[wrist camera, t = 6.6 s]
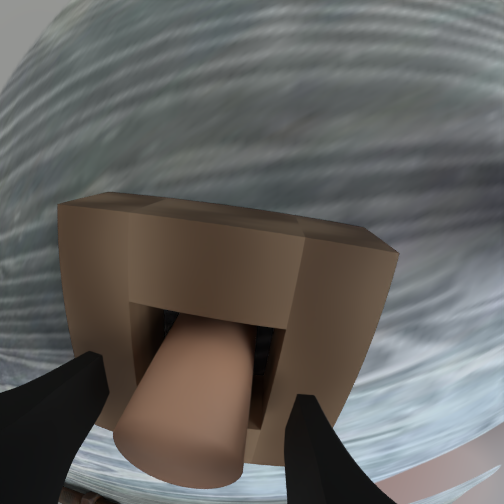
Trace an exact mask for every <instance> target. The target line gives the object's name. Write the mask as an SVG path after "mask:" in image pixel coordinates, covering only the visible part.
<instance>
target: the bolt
mask: <svg viewBox="0 0 504 504" xmlns="http://www.w3.org/2000/svg"><path fill="white" fill-rule="evenodd" d="M58 502H60V503H62V504H116V503H113V502H109V501H106V500H105V499H104V498H103V497H102V496H101V495H99V494H97V493H94V492H88V493H86V494H84V493H80V492H77V491H75V490H72V489H69V488H67V487H64V486H63V487H62V490H61V493H60V497H59V500H58Z"/></svg>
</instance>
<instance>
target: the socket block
mask: <svg viewBox="0 0 504 504" xmlns="http://www.w3.org/2000/svg"><path fill="white" fill-rule="evenodd" d="M58 244H59V259H60V270H61V280H62V289H63V296H64V303H65V310H66V316H67V322H68V327H69V332H70V337H71V342H72V347H73V351H74V356H75V358H76V357H78V356H80V355H82V354H84V353H85V352H88V351H92V352H95V353H98V354H101V355H102V356H103V362H104V367H105V372H106V377H107V382H108V386H109V391H110V393H109V396H108V398H107V401H106V403H105V405H104V407H103V410H102V412H101V414H100V415H99V417H98V419H97V420H96V422H95V425H97V426H100V427H102V428H105V429H107V430H110V431H113V432H114V429H115V427H116V425H117V423H118V421H119V419H120V418H121V416H122V414H123V412H124V410H125V408H126V407H127V405H128V403H129V401H130V399H131V397H132V396H133V394H134V392H135V390H136V388H137V387H138V385H139V383H140V381H141V380H142V378H143V376H144V374H145V372H146V371H147V369H148V367H149V365H150V364H151V362H152V360H153V358H154V357H155V355H156V353H157V351H158V350H159V348H160V346H161V344H162V343H163V341H164V309H166V310H171V311H176V312H181V313H186V314H192V315H197V316H203V317H208V318H214V319H220V320H226V321H232V322H238V323H244V324H251V325H258V326H265V327H272V328H274V330H273V334H272V339H271V344H270V349H269V353H268V358H267V363H266V367H265V372H264V376H262V375H254V374H253V378H252V388H251V398H250V408H249V418H248V428H247V437H246V447H245V456H244V463H250V464H259V465H271V466H285V462H284V437H285V427H286V424H287V422H288V419H289V416H290V413H291V410H292V408H293V405H294V402H295V399H296V396H297V394H307V395H315V397H316V398H317V400H318V402H319V404H320V406H321V408H322V410H323V412H324V414H325V416H326V417H327V419H328V421H329V423H330V424H331V426H332V428H333V427H334V425H335V423H336V421H337V419H338V417H339V415H340V413H341V411H342V409H343V406H344V404H345V402H346V400H347V398H348V396H349V394H350V392H351V389H352V387H353V385H354V383H355V380H356V378H357V376H358V373H359V371H360V369H361V366H362V364H363V362H364V359H365V357H366V354H367V352H368V349H369V346H370V344H371V341H372V339H373V336H374V333H375V330H376V328H377V325H378V322H379V319H380V316H381V313H382V310H383V307H384V304H385V301H386V298H387V295H388V292H389V289H390V285H391V282H392V279H393V275H394V272H395V268H396V265H397V261H398V257H399V253H398V252H397V251H396V250H394V249H393V248H392V247H390V246H389V245H388V244H386V243H385V242H384V241H382V240H381V239H380V238H378V237H377V236H375V235H374V234H373V233H371V232H370V231H368V230H367V229H366V228H364V227H359V226H354V225H348V224H343V223H337V222H332V221H326V220H320V219H314V218H308V217H302V216H296V215H290V214H284V213H277V212H271V211H264V210H257V209H251V208H244V207H237V206H229V205H222V204H214V203H207V202H199V201H191V200H182V199H174V198H165V197H156V196H147V195H137V194H127V193H116V192H106V193H102V194H97V195H93V196H89V197H84V198H80V199H76V200H72V201H68V202H64V203H60V204H58Z"/></svg>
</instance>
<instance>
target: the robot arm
mask: <svg viewBox="0 0 504 504" xmlns="http://www.w3.org/2000/svg"><path fill="white" fill-rule="evenodd" d="M109 393H110V391H109V386H108V382H107V377H106V372H105V367H104V362H103V356H102V355H101V354H98V353H95V352H92V351H88V352H85V353H84V354H82V355H80V356H78V357H76V358H74V359H72V360H71V361H69V362H67V363H65V364H64V365H62V366H60V367H58V368H56V369H54V370H52V371H51V372H49V373H47V374H45V375H43V376H41V377H39V378H36V379H34V380H32V381H30V382H28V383H26V384H24V385H21V386H19V387H16V388H13V389H11V390H8V391H5V392H2V393H0V504H58V500H59V497H60V493H61V490H62V487H63V484H64V482H65V479H66V476H67V473H68V471H69V469H70V466H71V464H72V461H73V459H74V457H75V455H76V453H77V452H78V450H79V448H80V447H81V445H82V443H83V442H84V440H85V438H86V437H87V435H88V433H89V432H90V430H91V429H92V427H93V425H94V424H95V422H96V420H97V419H98V417H99V415H100V414H101V412H102V410H103V407H104V405H105V403H106V401H107V398H108V396H109ZM284 462H285V476H286V489H287V504H397V503H395V502H394V501H393V500H392V499H391V498H389V497H388V496H387V495H386V494H385V493H383V492H382V491H381V490H380V489H379V488H378V487H377V486H376V485H375V484H374V483H373V482H372V481H371V480H370V478H369V477H368V476H367V475H366V474H365V473H364V472H363V471H362V469H361V468H360V467H359V466H358V465H357V463H356V462H355V461H354V459H353V458H352V457H351V455H350V454H349V453H348V451H347V450H346V448H345V447H344V445H343V444H342V442H341V441H340V439H339V438H338V436H337V434H336V433H335V431H334V430H333V428H332V426H331V424H330V423H329V421H328V419H327V417H326V416H325V414H324V412H323V410H322V408H321V406H320V404H319V402H318V400H317V398H316V397H315V395H307V394H297V396H296V399H295V402H294V405H293V408H292V410H291V413H290V416H289V419H288V422H287V424H286V427H285V437H284Z"/></svg>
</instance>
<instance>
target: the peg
mask: <svg viewBox="0 0 504 504" xmlns="http://www.w3.org/2000/svg"><path fill="white" fill-rule="evenodd" d="M256 335H257V325H251V324H244V323H238V322H232V321H226V320H220V319H214V318H208V317H203V316H197V315H192V314H186V313H181V312H180V313H179V315H178V317H177V319H176V320H175V322H174V324H173V325H172V327H171V329H170V331H169V332H168V334H167V336H166V337H165V339H164V341H163V343H162V344H161V346H160V348H159V350H158V351H157V353H156V355H155V357H154V358H153V360H152V362H151V364H150V365H149V367H148V369H147V371H146V372H145V374H144V376H143V378H142V380H141V381H140V383H139V385H138V387H137V388H136V390H135V392H134V394H133V396H132V397H131V399H130V401H129V403H128V405H127V407H126V408H125V410H124V412H123V414H122V416H121V418H120V419H119V421H118V423H117V425H116V427H115V429H114V432H113V439H114V442H115V445H116V447H117V448H118V450H119V451H120V453H121V454H122V455H123V456H124V457H125V458H126V459H127V460H128V461H129V462H130V463H131V464H133V465H134V466H135V467H137V468H138V469H140V470H141V471H143V472H145V473H147V474H148V475H150V476H152V477H155V478H157V479H159V480H162V481H164V482H167V483H170V484H174V485H178V486H182V487H188V488H196V489H213V488H220V487H224V486H227V485H230V484H232V483H234V482H236V481H237V480H238V479H239V478H240V477H241V475H242V473H243V466H244V456H245V447H246V437H247V428H248V418H249V408H250V398H251V388H252V378H253V367H254V357H255V346H256Z"/></svg>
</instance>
